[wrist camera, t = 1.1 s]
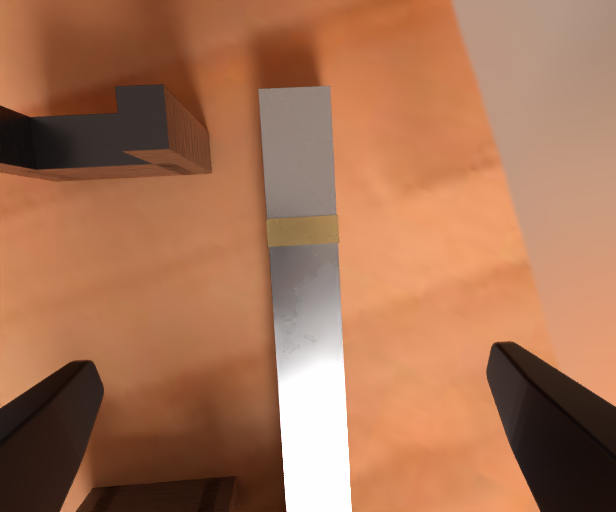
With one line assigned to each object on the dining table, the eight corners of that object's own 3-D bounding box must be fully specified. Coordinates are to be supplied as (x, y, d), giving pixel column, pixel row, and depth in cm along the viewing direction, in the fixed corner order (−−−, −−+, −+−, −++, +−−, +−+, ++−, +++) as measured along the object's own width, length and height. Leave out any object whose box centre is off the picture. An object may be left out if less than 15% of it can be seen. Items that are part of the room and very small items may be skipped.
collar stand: (238, 511, 21) (214, 651, 15) (96, 523, 21) (2, 673, 14) (208, 132, 20) (163, 84, 13) (51, 139, 19) (-84, 94, 12)
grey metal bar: (345, 517, 22) (354, 566, 19) (289, 522, 22) (289, 572, 19) (324, 105, 20) (331, 85, 17) (262, 108, 20) (257, 88, 16)
